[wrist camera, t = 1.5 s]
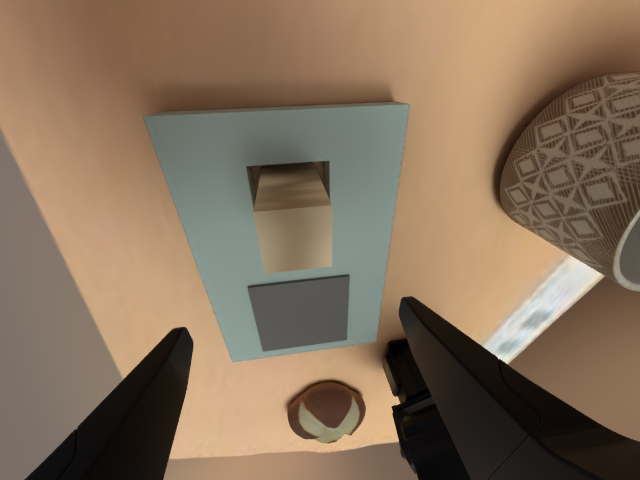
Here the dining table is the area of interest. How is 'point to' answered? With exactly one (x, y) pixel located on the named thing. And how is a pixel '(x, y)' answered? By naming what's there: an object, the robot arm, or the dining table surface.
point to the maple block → (293, 218)
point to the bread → (326, 412)
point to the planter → (583, 176)
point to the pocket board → (240, 229)
